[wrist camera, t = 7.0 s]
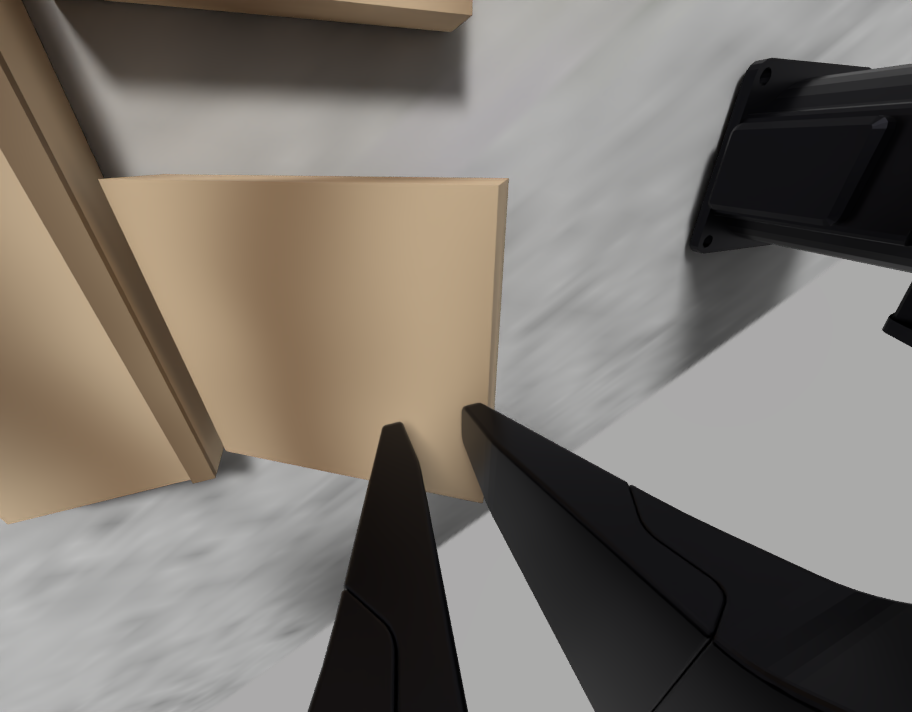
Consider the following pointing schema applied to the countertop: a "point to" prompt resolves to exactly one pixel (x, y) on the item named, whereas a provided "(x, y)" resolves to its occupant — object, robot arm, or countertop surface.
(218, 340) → the plank
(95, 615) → the countertop surface
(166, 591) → the countertop surface
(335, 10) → the plank
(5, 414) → the laid board
